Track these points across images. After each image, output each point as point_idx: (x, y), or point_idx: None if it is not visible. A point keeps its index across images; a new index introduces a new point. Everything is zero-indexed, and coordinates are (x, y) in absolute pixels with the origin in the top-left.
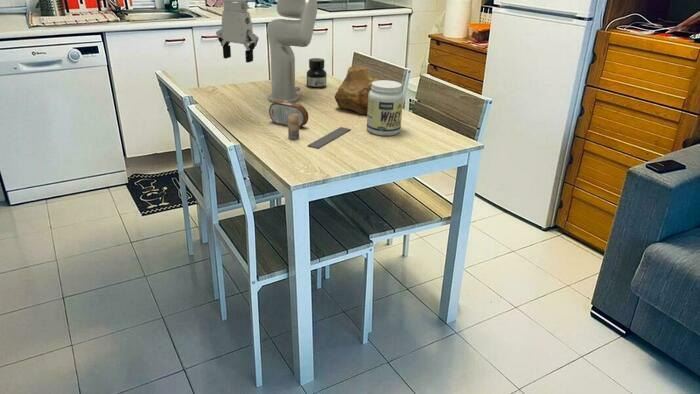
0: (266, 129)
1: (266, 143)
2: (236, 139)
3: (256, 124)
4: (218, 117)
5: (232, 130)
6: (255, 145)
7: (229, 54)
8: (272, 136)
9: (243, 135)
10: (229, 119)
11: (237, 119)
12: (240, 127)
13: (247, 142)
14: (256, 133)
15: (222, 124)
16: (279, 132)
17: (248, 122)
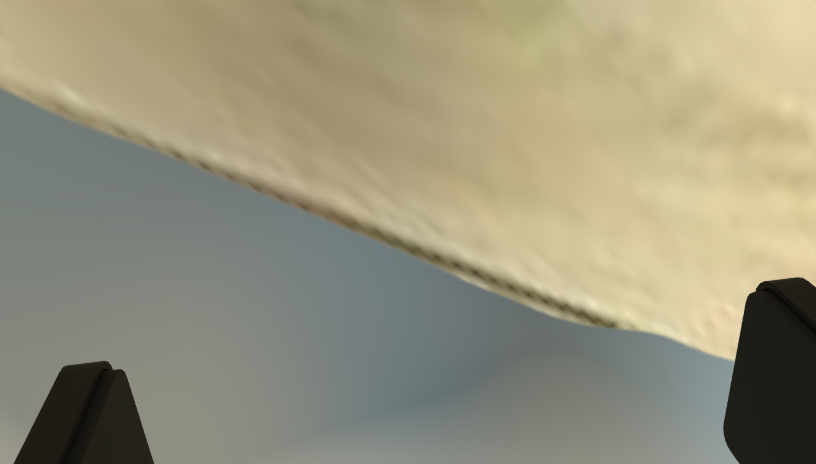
0: (629, 52)
1: (769, 248)
2: (575, 314)
3: (492, 12)
4: (114, 89)
5: (441, 226)
6: (727, 308)
7: (115, 449)
8: (743, 135)
9: (566, 243)
10: (226, 66)
11: (275, 20)
12: (441, 147)
13: (661, 306)
14: (616, 163)
15: (287, 186)
16: (748, 39)
17: (405, 18)
